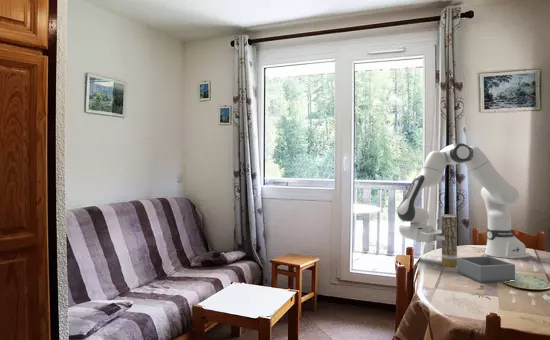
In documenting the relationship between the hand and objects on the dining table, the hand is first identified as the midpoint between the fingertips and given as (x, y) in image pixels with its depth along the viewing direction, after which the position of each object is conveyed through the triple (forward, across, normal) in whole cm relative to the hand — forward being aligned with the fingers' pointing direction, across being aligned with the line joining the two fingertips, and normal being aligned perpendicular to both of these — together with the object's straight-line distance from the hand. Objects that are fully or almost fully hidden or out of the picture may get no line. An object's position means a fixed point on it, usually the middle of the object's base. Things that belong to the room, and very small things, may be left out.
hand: (450, 237), depth 187 cm
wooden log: (-1, 0, -14) cm, 14 cm away
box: (+19, +4, -14) cm, 24 cm away
